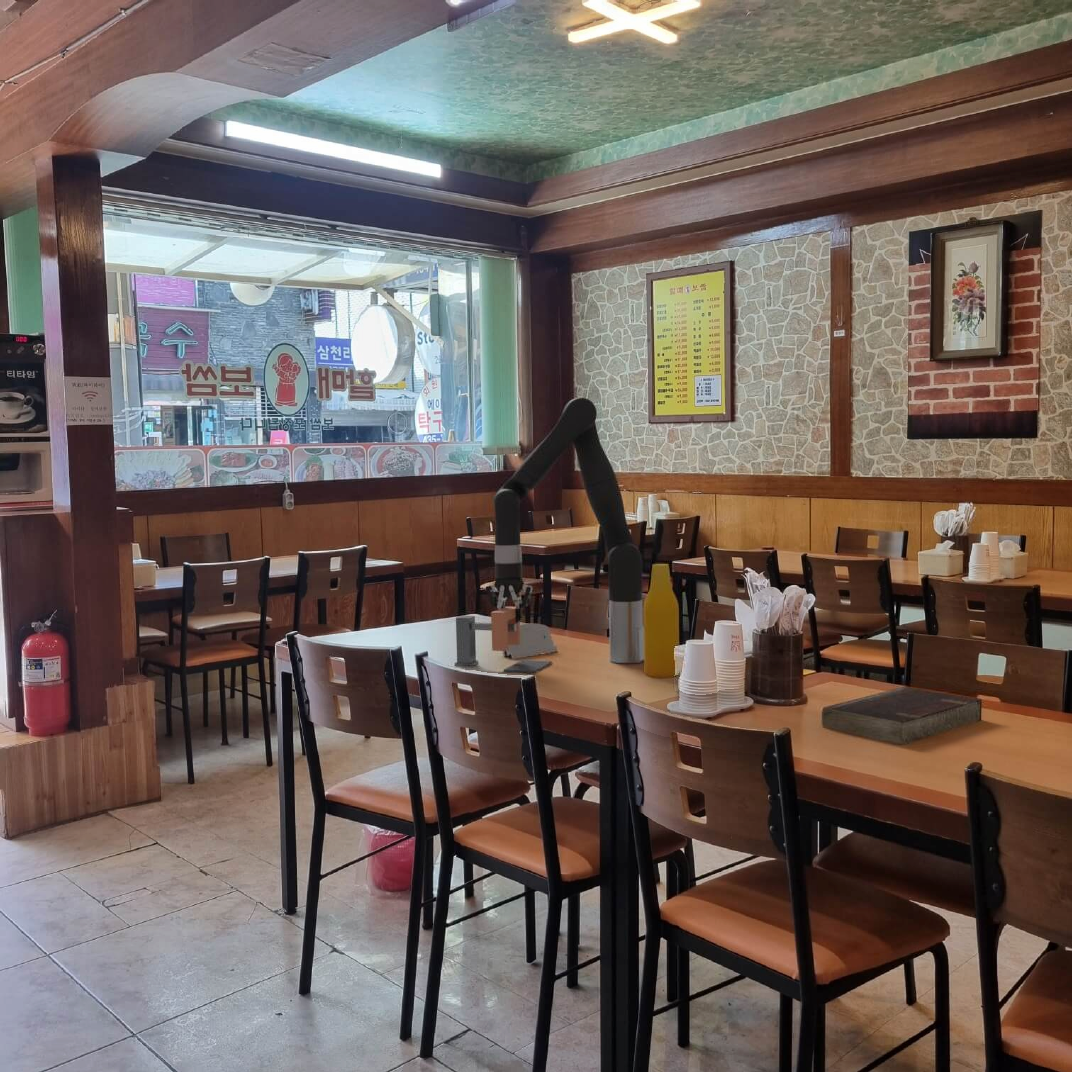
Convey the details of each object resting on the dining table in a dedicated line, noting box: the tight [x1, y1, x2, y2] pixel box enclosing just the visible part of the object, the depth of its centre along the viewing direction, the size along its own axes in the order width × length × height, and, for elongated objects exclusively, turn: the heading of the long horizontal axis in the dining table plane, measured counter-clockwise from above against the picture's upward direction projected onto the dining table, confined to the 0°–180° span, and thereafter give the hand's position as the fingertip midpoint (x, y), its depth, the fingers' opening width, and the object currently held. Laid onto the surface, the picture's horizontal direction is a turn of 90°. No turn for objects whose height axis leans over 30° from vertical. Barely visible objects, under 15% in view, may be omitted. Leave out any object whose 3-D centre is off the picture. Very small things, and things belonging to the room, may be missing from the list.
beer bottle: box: [643, 563, 680, 679], centre depth 272 cm, size 9×9×29 cm
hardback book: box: [821, 686, 983, 746], centre depth 218 cm, size 29×19×5 cm, turn 127°
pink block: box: [490, 606, 521, 652], centre depth 288 cm, size 4×11×10 cm, turn 160°
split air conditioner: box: [502, 623, 558, 660], centre depth 307 cm, size 17×5×10 cm, turn 125°
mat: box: [503, 659, 553, 674], centre depth 286 cm, size 9×14×1 cm, turn 160°
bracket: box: [454, 615, 517, 668], centre depth 290 cm, size 18×5×14 cm, turn 70°
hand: (510, 621), depth 291 cm, fingers closed on pink block, 4 cm apart
